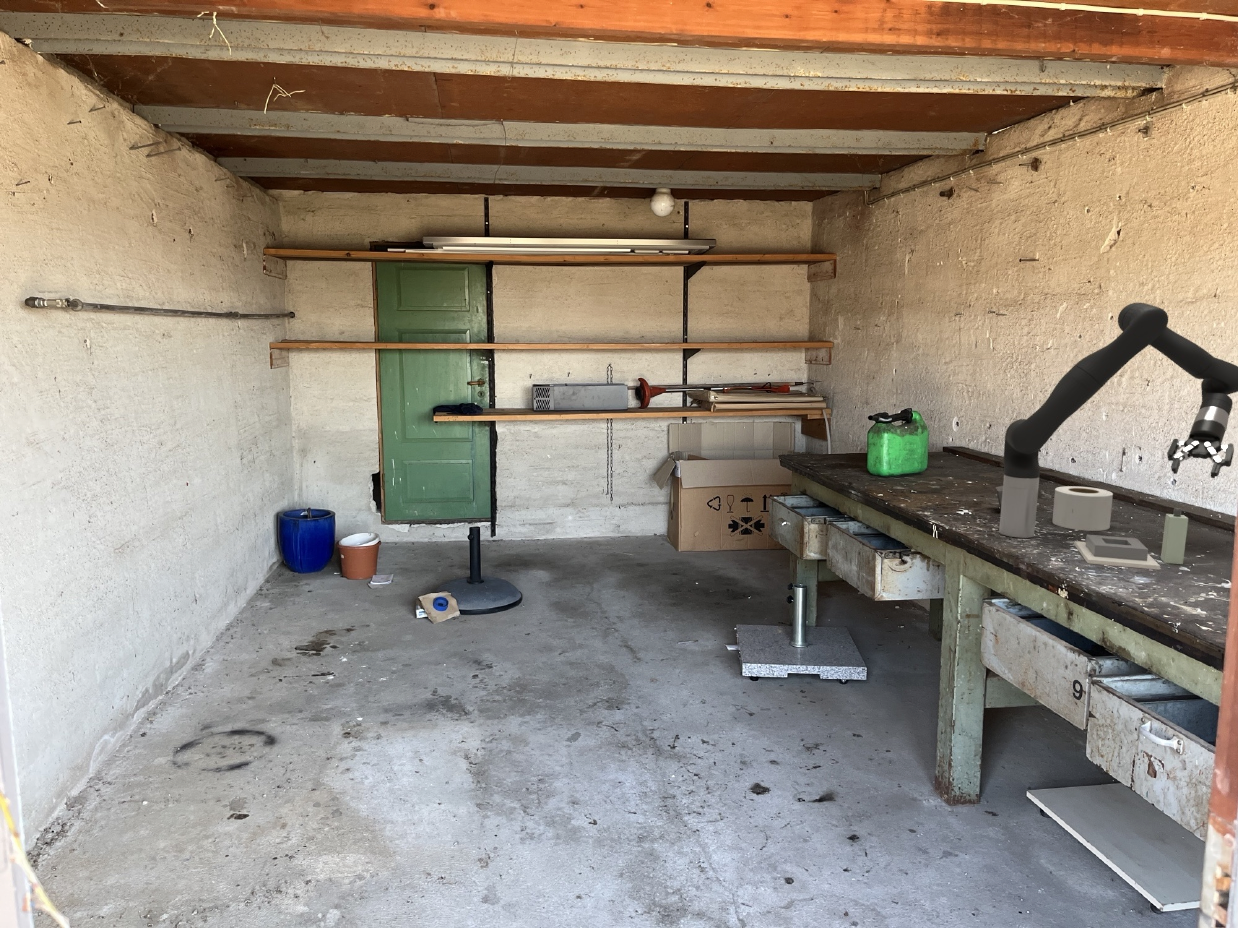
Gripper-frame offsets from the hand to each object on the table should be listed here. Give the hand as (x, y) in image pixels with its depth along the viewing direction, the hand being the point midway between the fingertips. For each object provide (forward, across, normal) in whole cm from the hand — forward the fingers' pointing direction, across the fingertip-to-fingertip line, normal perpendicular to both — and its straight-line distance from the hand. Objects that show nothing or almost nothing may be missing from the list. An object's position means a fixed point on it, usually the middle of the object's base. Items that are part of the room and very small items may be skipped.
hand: (1193, 474), depth 226 cm
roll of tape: (+5, -31, +26) cm, 41 cm away
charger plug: (+24, 0, +7) cm, 25 cm away
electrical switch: (+4, -54, +27) cm, 60 cm away
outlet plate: (+28, -12, +3) cm, 30 cm away
